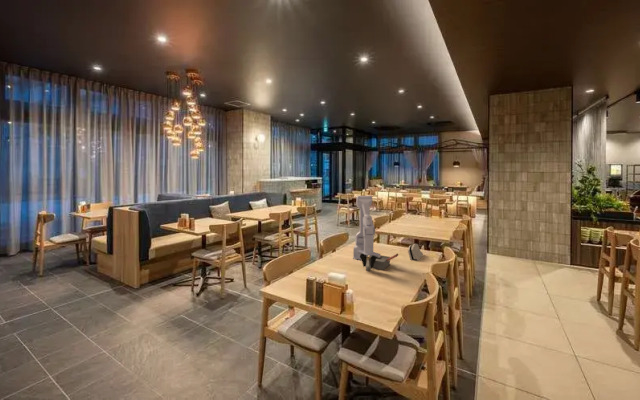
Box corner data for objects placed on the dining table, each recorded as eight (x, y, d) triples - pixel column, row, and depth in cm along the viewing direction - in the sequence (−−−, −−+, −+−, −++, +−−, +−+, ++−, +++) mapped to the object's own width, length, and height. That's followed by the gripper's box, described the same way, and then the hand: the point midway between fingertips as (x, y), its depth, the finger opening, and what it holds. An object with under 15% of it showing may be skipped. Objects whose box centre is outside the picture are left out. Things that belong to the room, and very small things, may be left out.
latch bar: (387, 261, 191) (386, 259, 191) (389, 259, 194) (388, 258, 195) (396, 256, 188) (395, 255, 188) (398, 255, 191) (397, 253, 191)
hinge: (417, 261, 205) (413, 246, 206) (411, 262, 208) (406, 248, 208) (423, 254, 220) (418, 241, 220) (416, 255, 222) (412, 242, 223)
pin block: (365, 266, 195) (365, 258, 194) (372, 261, 205) (372, 254, 204) (383, 269, 189) (383, 262, 188) (389, 264, 199) (390, 256, 198)
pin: (365, 270, 188) (365, 257, 187) (366, 268, 191) (367, 256, 190) (369, 271, 187) (369, 258, 186) (371, 269, 189) (371, 257, 188)
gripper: (355, 245, 187) (354, 266, 189) (377, 248, 180) (377, 270, 181) (359, 242, 193) (359, 263, 195) (381, 245, 186) (381, 267, 187)
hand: (368, 266), depth 188 cm, fingers open, 4 cm apart
